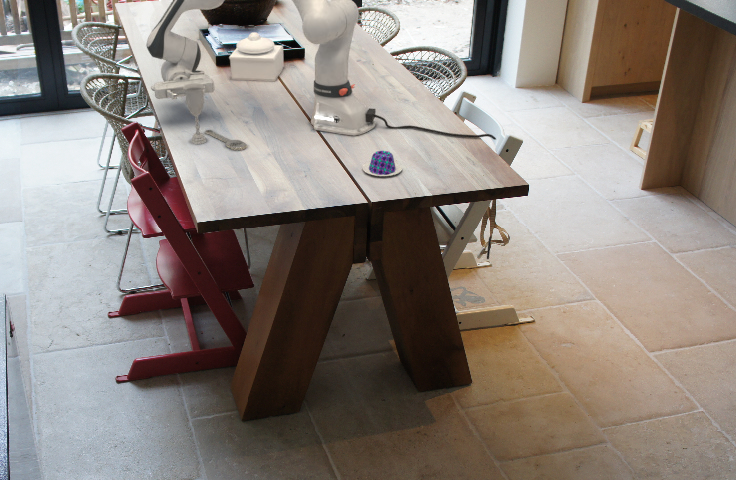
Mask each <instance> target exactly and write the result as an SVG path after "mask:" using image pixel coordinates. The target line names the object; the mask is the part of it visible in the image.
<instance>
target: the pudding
mask: <svg viewBox="0 0 736 480" xmlns="http://www.w3.org/2000/svg"><path fill="white" fill-rule="evenodd" d="M362 170H363V172H365V173H366V174H368V175H372V176H376V177H389V176H395V175H397V174H399V173H401V172H402V170H403V166H402V165H401V164H400V163H399V162H397V161H395V159H394V155H393V153H392V152H390V151H388V150H377V151H375V152H374V153H373V154H372V155H371V160H370V161H367V162H366V163H364V164H363V165H362Z"/></svg>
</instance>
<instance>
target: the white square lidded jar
mask: <svg viewBox="0 0 736 480" xmlns="http://www.w3.org/2000/svg"><path fill="white" fill-rule="evenodd" d="M235 46H236V48H235V49H234V51H233V52H232V53H231V54H230V55H229V57H228V59H229V64H230V80H231V81H257V82H258V81H261V82H276V80H277V79H278V77H279V76H280V74H281V72H282V71H283V69H284V67H285V66H284V65H285V63H284V61H285V60H284V46H283V45H277V44H275V43H274V41H273V40H272V39H270V38H267V37H264V36H261V35H260V34H259V33H258V32H255V31H253V32H250V33H249V34H248V36H247V37H246V38H243V39H241V40H239V41H237V43H236V45H235Z"/></svg>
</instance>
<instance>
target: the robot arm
mask: <svg viewBox="0 0 736 480" xmlns="http://www.w3.org/2000/svg"><path fill="white" fill-rule="evenodd" d="M291 1H292V3H293V4H294V7H295V8H296V9H297V10H296V11H297V12H298V14H299V17H300V19H301V21H302V26H301V27H302V28H301V29H302V34H303V35H304V37H305V39H306V40H307V41H308V42H309V43H311V44H313V45H318V47H317V51H316V53H315V55H314V80H313V94H314V101H313V108H312V115H311V119H310V124H311V125H312V126H313V130H314V131H319V132H326V133H332V134H340V135H345V136H346V135H347V136H351V137H352V136H354V137H355V136H359V135H363V134H366V133H367V132H369V131H372V130H373V129H374V128H375V126H376V125H377V124H376V121H375V118H377V119H379V120H382V121H383V123H384V125H385V126H386V128H388V129H393V130H400V129H402V130H403V129H415V130H419V131H423V132H429V133H434V134H439V135H444V136H449V137H458V138H475V139H476V138H484V137H487V138H491V139H492V140H493V141H494V140H497V137H495V136H494V135H493V134H490V133H483V134H463V133H462V134H461V133H452V132H446V131H440V130H435V129H431V128H427V127H423V126H416V125H401V126H400V125H399V126H392V125H389V123H388V121H387V119H386V118H384V117H383V116H381V115H378V114H376V113H377V111H376V108H371V107H370V108H368V107H367V105H366V104H365V103H364V102H363V101H362V100H360V98H358V96H356V95H355V93H354V92H353V89H354V88H355V85H356V84H354V83H353V84H351V82H350V80H349V57H350V50H351V45H352V40H353V36H354V32H355V27H356V26H357V23H358V21H359V16H360V12H359V7H358V6H357V4H356V3H355V2H354V1H353V0H330V1H329V0H291ZM224 2H225V0H172V1H171V2H170V4H169V6H168V7H167V9H166V10H165V12H164V13H163V15H162V17H161V18H160V20H159V21H158V23H157V24H156V25H155V26H154V27H153V29H152V30H151V32H150V33H149V35H148V37H147V39H146V45H145V46H146V50H147V51H148V53H149V54H150V56H151V57H152V58H155V59H159V60H163V61H164V62H163V63H162V64H161V68H160V75H161V78H162V81H159V82H154V85H152V86H151V87H150V89H151V91H153V92H154V97H155V99H158V100H162V99H163V100H165V99H171V100H178V98H179V97H180V98H182V97H185V91H184V89H183V86H185V85H187V84H191V83H200V84H203V85H204V89H203V95H204V96H206V94H209V93H211V94H212V93H214V92H215V82H214V80H213V78H211V77H210V76H209V75H207V74H205V71H204V70H198V68H199V65H200V62H201V58H202V51H201V47H200V45H199V43H198V41H196V40H194V39H192V38H189V37H187V36H183V35H181V34H178V33H177V32H176V33H175V32H173V31H172V29H173V28H174V27H175V25H176V23H177V22H178V21H179V18H180V17H181V16H182V15H183V14H184V13H185V12H187V11H194V10H201V11H202V10H203V11H204V10H207V11H208V10H212V9H213V10H214V9H216V8H219V7H220V6H222V5H223V3H224ZM492 237H493V235H490V236H489V237H488V243H487V251H486V254H487V255H486V260H490V253H491V244H492Z"/></svg>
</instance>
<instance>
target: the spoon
mask: <svg viewBox="0 0 736 480" xmlns="http://www.w3.org/2000/svg"><path fill="white" fill-rule="evenodd" d="M205 135H209V136H211V137H213V138H215V139H217V140H219V141H220V142H223V143H225V145H226V147H227V148H228V149H230V150H233V151H242V150H245V149H246V148H247V143H246V142H245V141H242V140H241V139H229V138H228V137H225V136H223V135H221V134H219V133H218V132H215V131H214V130H212V129H206V130H205Z"/></svg>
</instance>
